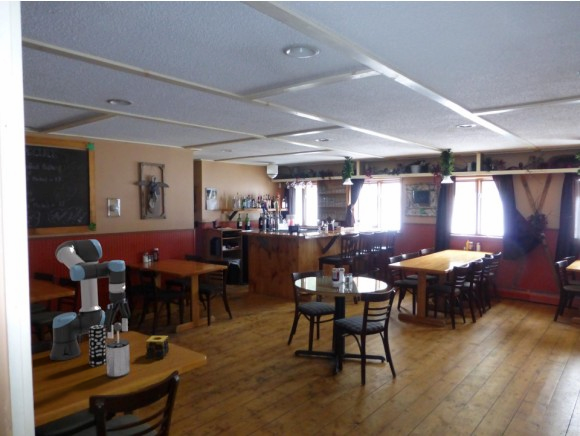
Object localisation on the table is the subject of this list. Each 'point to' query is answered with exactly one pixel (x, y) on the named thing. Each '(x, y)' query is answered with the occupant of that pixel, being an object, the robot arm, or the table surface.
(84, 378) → the table surface
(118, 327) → the grey ball-topped rod
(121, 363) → the grey cylinder
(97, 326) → the spotted tube
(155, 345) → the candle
